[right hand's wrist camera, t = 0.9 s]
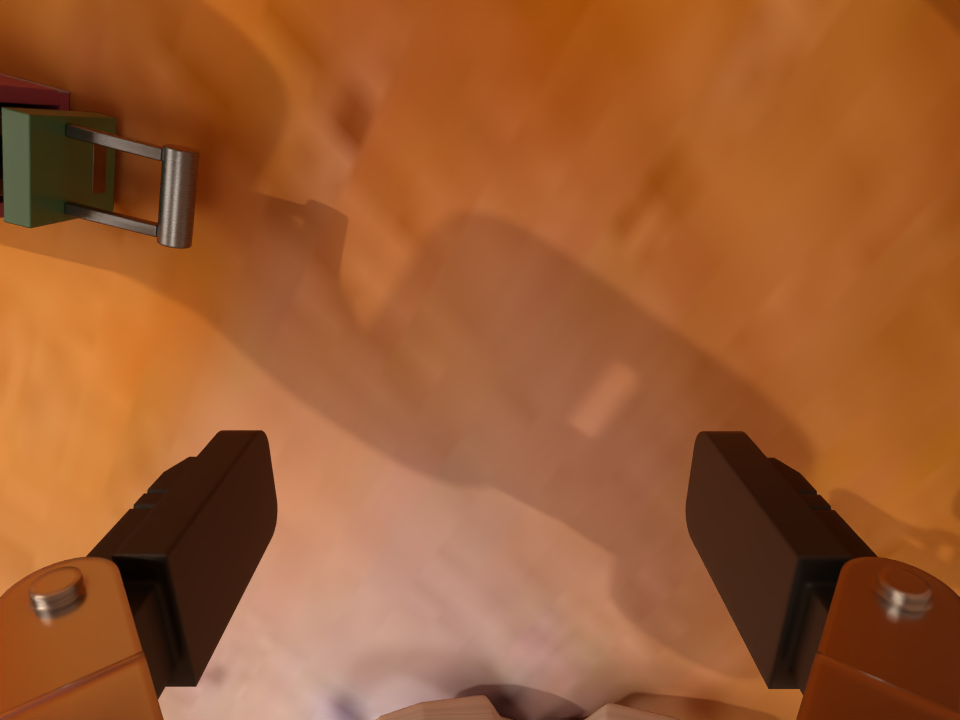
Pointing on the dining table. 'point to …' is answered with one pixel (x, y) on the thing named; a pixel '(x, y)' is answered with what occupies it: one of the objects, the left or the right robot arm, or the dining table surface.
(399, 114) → the dining table surface
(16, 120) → the drawer
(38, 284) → the dining table surface
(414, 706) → the beige irregular branched piece
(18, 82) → the cabinet
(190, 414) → the dining table surface
